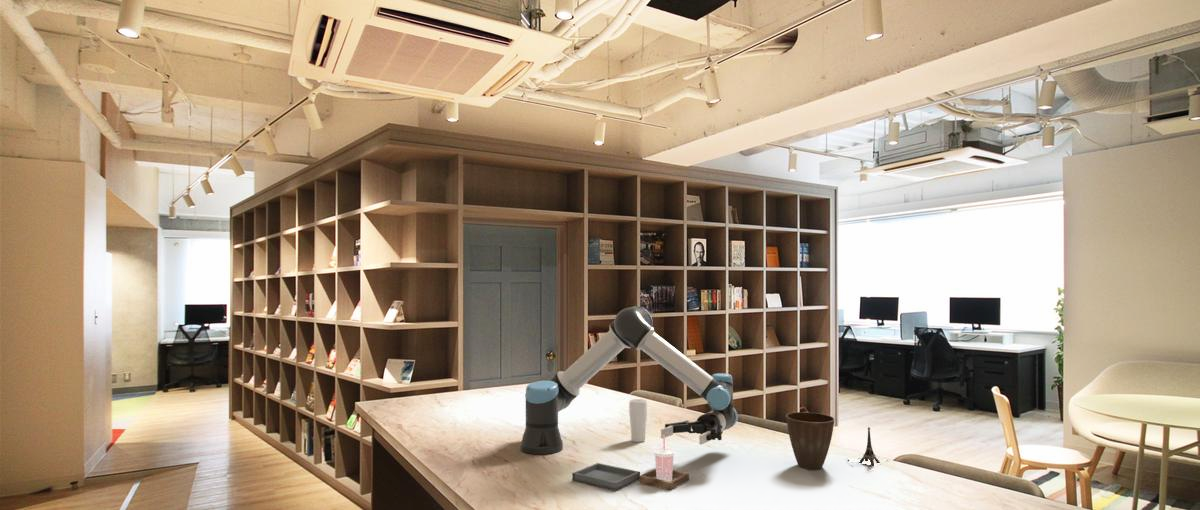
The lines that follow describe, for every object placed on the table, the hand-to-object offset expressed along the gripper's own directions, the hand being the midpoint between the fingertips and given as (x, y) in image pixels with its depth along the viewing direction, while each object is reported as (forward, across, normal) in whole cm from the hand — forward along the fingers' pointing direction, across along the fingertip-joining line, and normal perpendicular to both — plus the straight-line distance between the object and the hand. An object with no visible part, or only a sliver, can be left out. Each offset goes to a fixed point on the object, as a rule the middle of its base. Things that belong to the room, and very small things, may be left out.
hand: (680, 436), depth 195 cm
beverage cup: (+10, 0, -12) cm, 15 cm away
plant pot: (-31, -30, -12) cm, 45 cm away
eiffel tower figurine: (-46, -45, -13) cm, 66 cm away
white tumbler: (-26, +32, -11) cm, 43 cm away
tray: (+19, +16, -11) cm, 27 cm away
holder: (+10, 0, -11) cm, 15 cm away
